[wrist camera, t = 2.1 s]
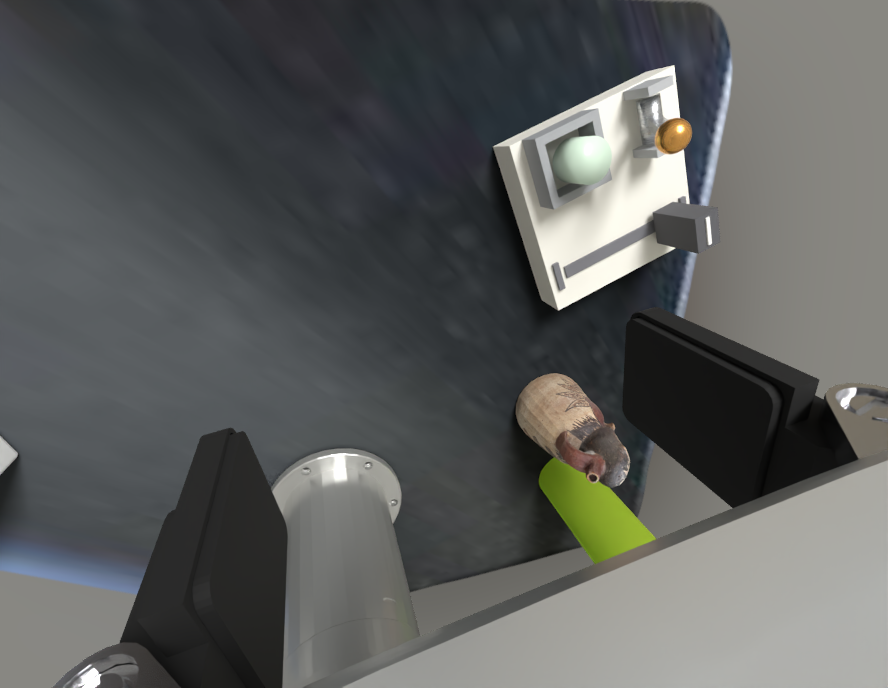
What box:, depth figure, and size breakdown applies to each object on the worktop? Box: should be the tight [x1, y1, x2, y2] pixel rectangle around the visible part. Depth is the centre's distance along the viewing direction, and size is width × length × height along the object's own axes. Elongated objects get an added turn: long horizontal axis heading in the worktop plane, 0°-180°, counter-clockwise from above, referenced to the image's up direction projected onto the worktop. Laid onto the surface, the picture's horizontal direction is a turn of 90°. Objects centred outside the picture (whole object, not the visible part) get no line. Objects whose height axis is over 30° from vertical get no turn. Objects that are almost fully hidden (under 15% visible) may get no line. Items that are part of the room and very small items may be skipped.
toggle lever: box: [636, 93, 692, 154], centre depth 29 cm, size 3×2×9 cm, turn 23°
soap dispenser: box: [539, 457, 656, 564], centre depth 41 cm, size 6×7×20 cm
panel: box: [493, 65, 689, 311], centre depth 35 cm, size 14×14×6 cm
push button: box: [553, 136, 612, 185], centre depth 30 cm, size 3×3×2 cm
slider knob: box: [652, 202, 720, 254], centre depth 34 cm, size 3×2×4 cm
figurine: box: [516, 373, 630, 487], centre depth 40 cm, size 7×7×12 cm
